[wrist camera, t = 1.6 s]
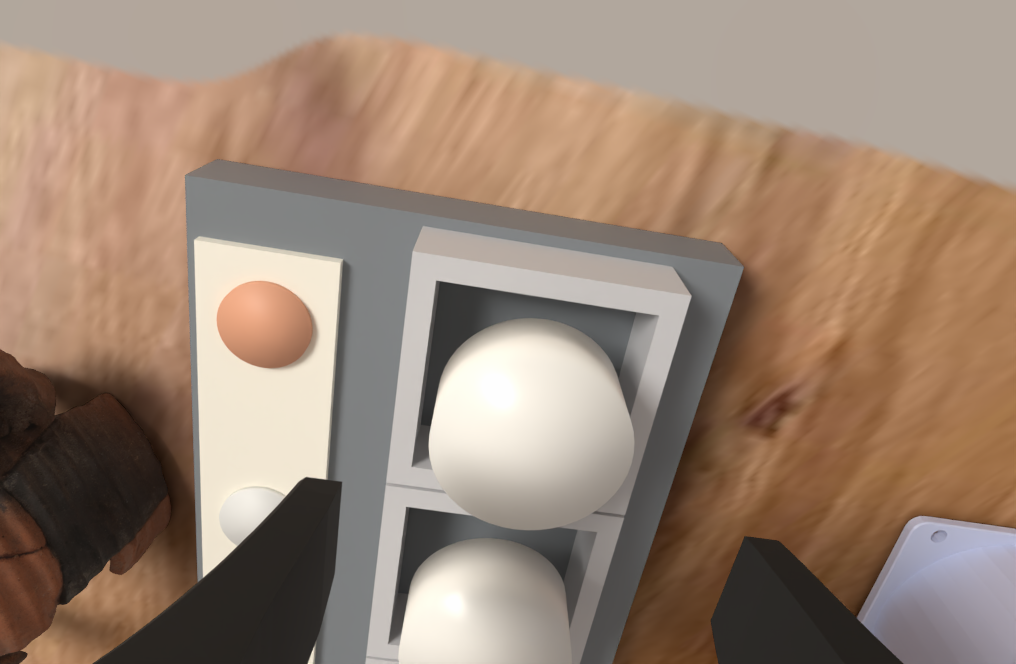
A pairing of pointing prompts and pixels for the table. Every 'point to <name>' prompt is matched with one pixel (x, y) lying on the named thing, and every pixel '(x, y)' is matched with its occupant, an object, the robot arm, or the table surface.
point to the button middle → (486, 607)
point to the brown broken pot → (67, 500)
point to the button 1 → (530, 426)
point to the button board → (422, 375)
